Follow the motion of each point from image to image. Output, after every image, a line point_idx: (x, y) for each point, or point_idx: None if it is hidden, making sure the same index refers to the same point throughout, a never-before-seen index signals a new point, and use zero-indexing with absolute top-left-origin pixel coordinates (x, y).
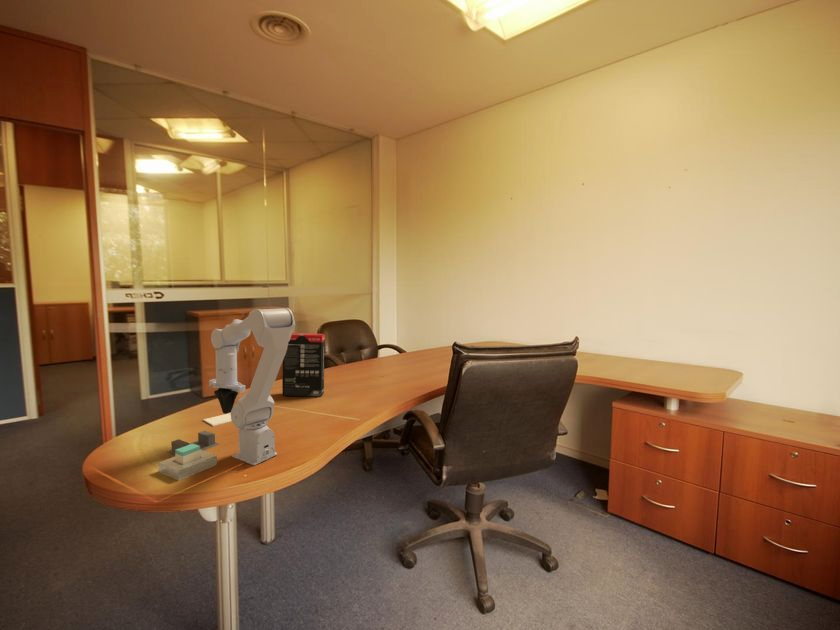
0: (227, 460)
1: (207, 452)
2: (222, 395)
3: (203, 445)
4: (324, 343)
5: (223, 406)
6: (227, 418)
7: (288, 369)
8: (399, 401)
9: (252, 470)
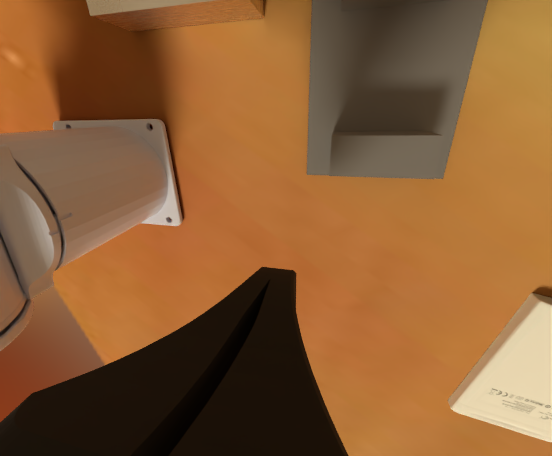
0: (156, 96)
1: (151, 3)
2: (78, 400)
3: (363, 121)
4: None
5: (246, 298)
6: (531, 375)
7: None
8: None
9: (34, 96)
